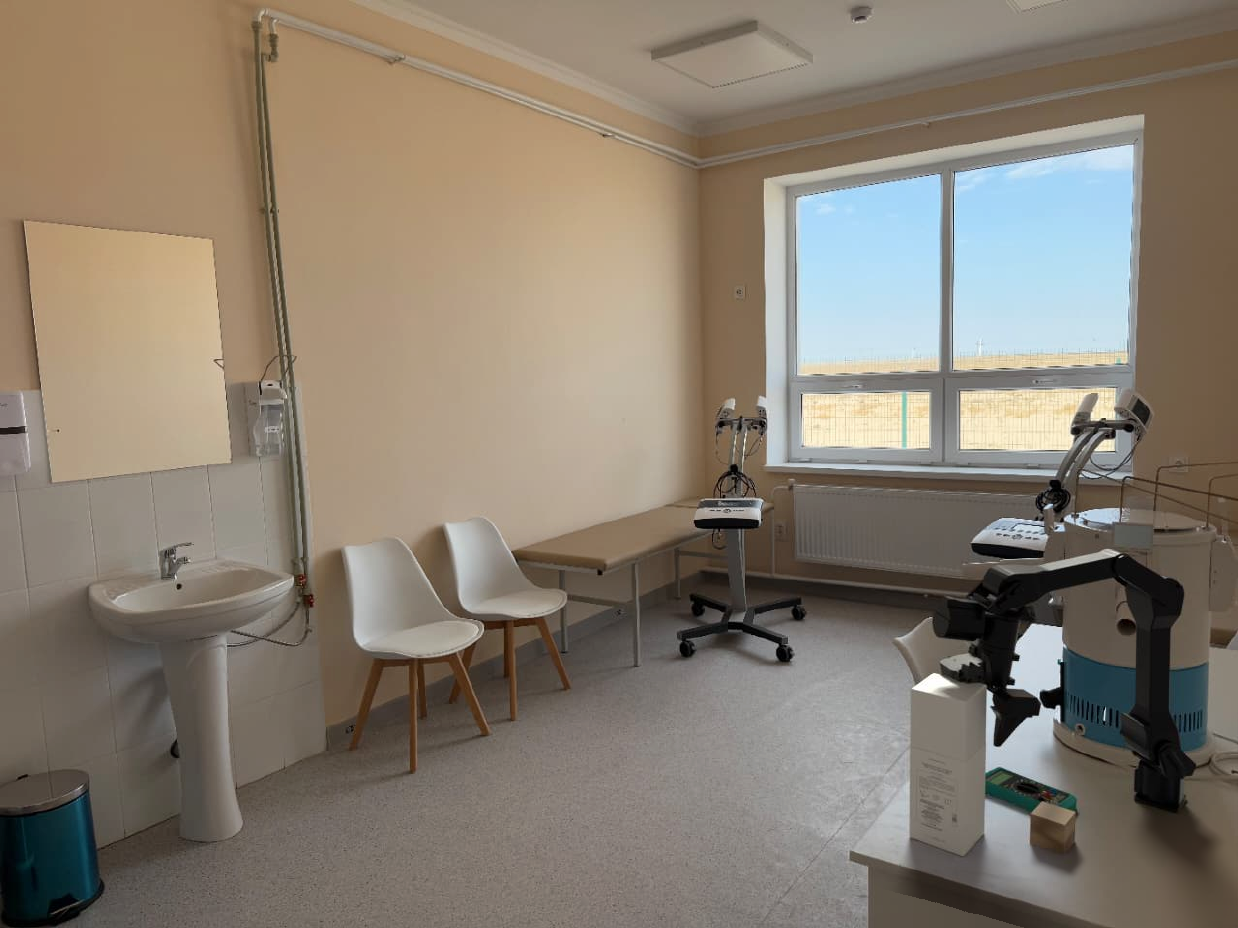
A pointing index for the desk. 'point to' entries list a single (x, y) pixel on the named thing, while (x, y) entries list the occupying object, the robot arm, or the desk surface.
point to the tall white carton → (947, 763)
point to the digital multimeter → (1025, 791)
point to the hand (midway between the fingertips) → (979, 733)
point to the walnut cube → (1052, 827)
